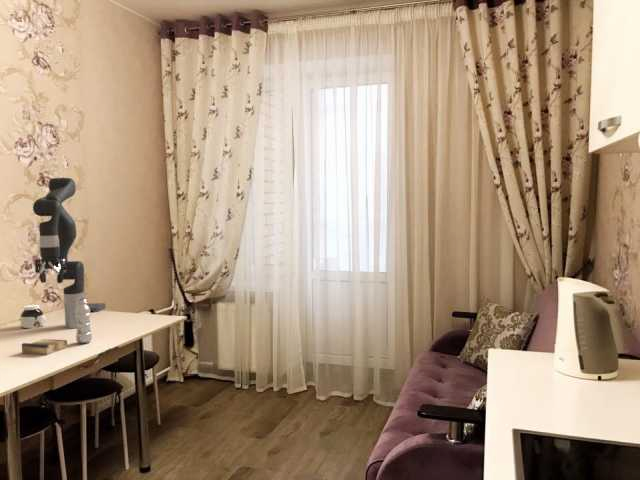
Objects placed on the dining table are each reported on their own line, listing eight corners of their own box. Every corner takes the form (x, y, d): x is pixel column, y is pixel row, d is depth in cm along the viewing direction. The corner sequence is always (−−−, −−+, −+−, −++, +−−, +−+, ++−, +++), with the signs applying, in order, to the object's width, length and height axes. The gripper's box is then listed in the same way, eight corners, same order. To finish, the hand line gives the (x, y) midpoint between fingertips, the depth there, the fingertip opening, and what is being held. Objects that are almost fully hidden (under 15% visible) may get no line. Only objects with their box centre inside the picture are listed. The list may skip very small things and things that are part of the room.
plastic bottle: (95, 341, 227) (93, 298, 225) (84, 345, 220) (82, 300, 219) (84, 340, 229) (82, 297, 227) (72, 344, 222) (70, 300, 221)
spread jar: (23, 331, 247) (21, 308, 246) (18, 327, 256) (17, 305, 255) (49, 327, 255) (48, 305, 254) (44, 323, 263) (43, 302, 263)
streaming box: (107, 310, 297) (106, 303, 296) (97, 315, 284) (97, 307, 284) (85, 311, 297) (85, 303, 296) (75, 315, 284) (75, 307, 284)
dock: (43, 345, 221) (43, 336, 220) (67, 346, 218) (66, 337, 218) (22, 353, 209) (21, 343, 209) (46, 355, 206) (46, 345, 206)
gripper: (69, 245, 218) (71, 281, 219) (42, 244, 221) (44, 281, 223) (57, 246, 211) (59, 284, 212) (29, 246, 214) (31, 283, 215)
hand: (51, 282), depth 217 cm, fingers open, 8 cm apart
